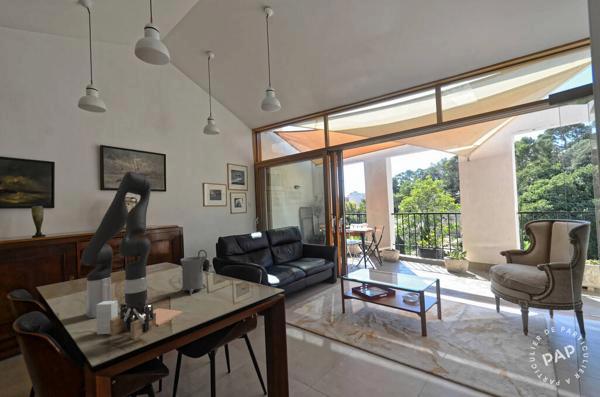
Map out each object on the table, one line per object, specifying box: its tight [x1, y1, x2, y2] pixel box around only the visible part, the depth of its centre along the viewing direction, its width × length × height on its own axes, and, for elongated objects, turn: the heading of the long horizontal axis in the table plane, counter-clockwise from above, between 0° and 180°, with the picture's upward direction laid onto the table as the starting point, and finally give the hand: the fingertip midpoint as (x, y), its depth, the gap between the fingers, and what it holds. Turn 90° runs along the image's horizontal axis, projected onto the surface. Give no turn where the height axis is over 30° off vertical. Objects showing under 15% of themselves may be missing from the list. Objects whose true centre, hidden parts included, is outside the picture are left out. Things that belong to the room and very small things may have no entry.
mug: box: [179, 249, 208, 296], centre depth 158 cm, size 19×15×25 cm
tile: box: [153, 308, 184, 327], centre depth 121 cm, size 15×14×1 cm
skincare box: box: [96, 300, 119, 335], centre depth 108 cm, size 6×4×12 cm
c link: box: [109, 313, 157, 340], centre depth 108 cm, size 10×13×6 cm
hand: (136, 330), depth 103 cm, fingers open, 8 cm apart
